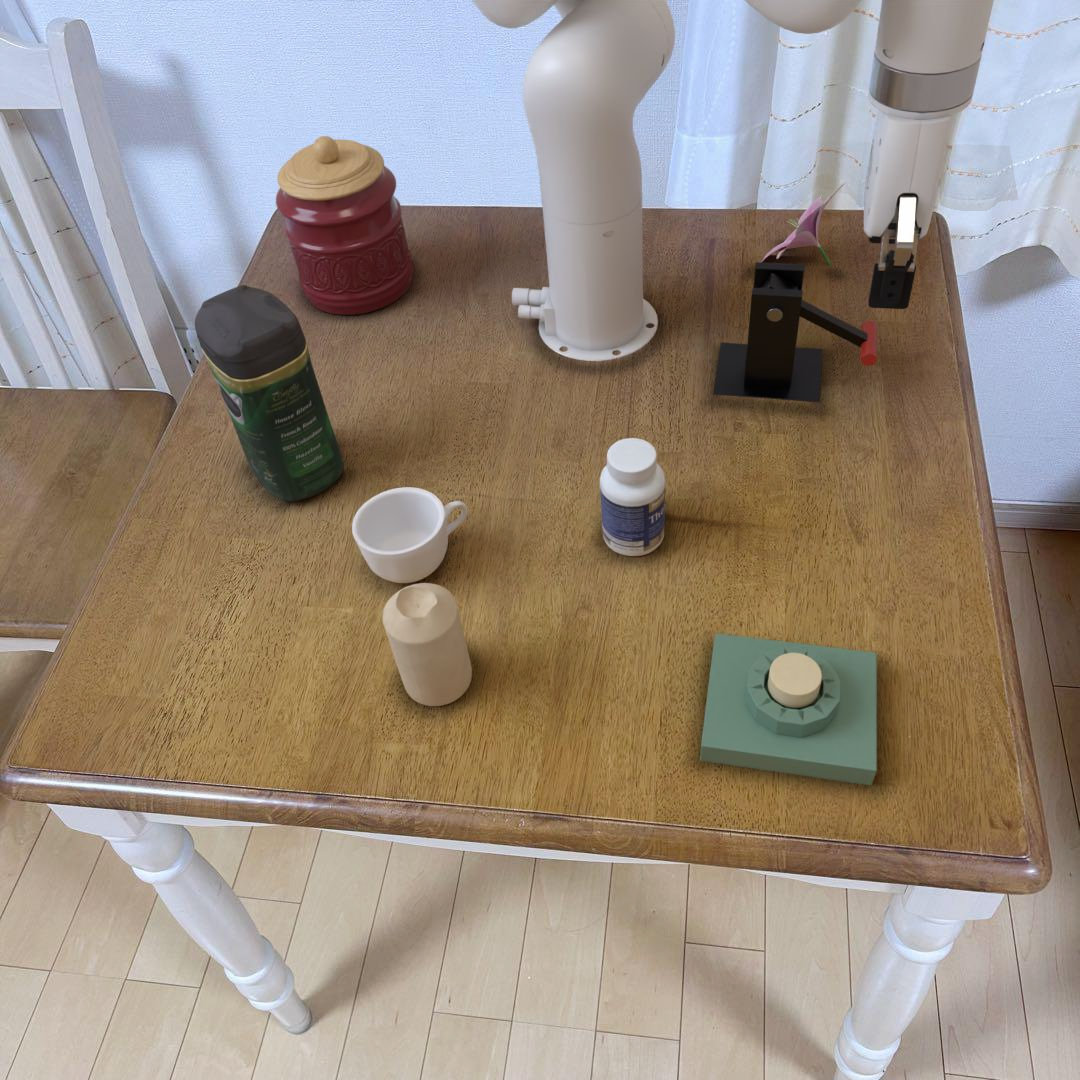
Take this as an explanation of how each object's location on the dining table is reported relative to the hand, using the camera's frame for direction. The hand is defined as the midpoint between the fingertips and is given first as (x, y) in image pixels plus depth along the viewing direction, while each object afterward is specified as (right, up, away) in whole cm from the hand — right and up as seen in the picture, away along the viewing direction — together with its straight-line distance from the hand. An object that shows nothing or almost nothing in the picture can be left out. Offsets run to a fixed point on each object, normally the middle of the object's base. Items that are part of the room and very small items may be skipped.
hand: (887, 273), depth 89 cm
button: (-12, -34, -16) cm, 39 cm away
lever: (-5, -3, +6) cm, 9 cm away
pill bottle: (-22, -23, 0) cm, 32 cm away
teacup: (-41, -25, 0) cm, 48 cm away
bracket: (-8, -8, +12) cm, 16 cm away
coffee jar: (-53, -17, +9) cm, 57 cm away
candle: (-38, -34, -8) cm, 52 cm away
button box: (-12, -36, -13) cm, 40 cm away
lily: (-2, +7, +24) cm, 25 cm away
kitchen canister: (-51, +6, +29) cm, 59 cm away
